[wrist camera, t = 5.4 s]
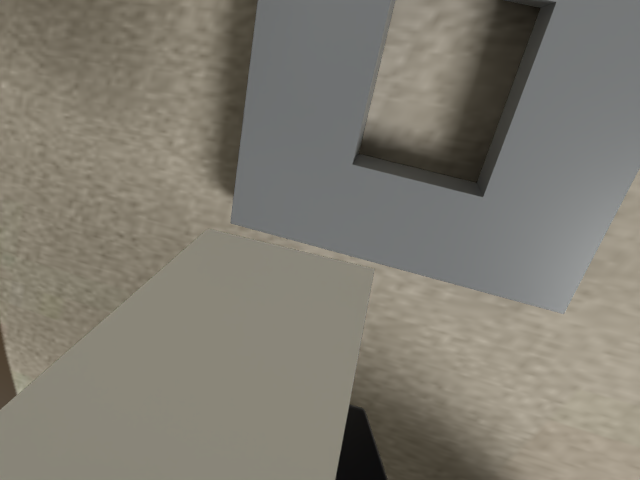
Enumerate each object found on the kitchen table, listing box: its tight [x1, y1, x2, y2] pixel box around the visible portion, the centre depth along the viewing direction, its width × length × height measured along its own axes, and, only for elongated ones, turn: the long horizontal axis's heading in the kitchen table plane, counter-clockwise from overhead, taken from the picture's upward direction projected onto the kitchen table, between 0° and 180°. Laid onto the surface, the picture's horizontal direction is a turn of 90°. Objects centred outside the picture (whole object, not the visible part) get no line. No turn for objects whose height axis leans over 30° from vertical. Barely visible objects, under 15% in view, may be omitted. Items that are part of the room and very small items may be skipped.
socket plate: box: [230, 0, 640, 314], centre depth 16 cm, size 14×14×2 cm
